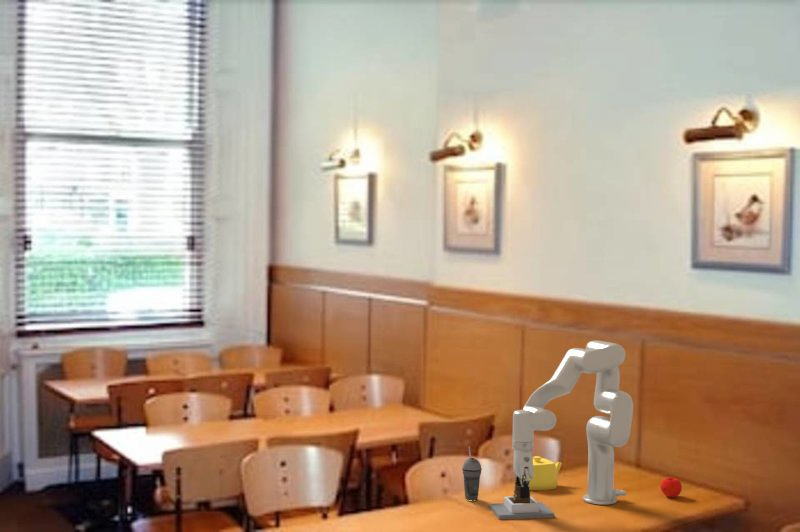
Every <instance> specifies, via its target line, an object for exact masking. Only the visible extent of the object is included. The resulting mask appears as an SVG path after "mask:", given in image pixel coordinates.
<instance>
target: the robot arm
mask: <svg viewBox="0 0 800 532" xmlns="http://www.w3.org/2000/svg"><path fill="white" fill-rule="evenodd" d="M625 350H626V349H624V347H623V346H622V345H621V344H618V343H614V342H610V341H605V340H604V341H603V340H597V339H596V340H591V341H588V343H587V344H586V346H585V348H581V347H573V348H570V349H569V350H567V352H566V353H565V355H564V356H563V358H562V360H561V361H560V363H559V365H558V366H557V367H556V369H555V371H554V373H553V374H552V376H551V378H550V379H549V380H548V381H547V382H545V383H544V384H542V385H541V386H540V387H538V388H537V389H535V391H533V393H531V395H530V396H529V398H528V400H526V402H525V404H524V406H523V408H522V409H518V410H514V411H513V413H512V436H511V437H512V439H511V442H512V443H511V445H512V446H511V448H512V450H513V461H512V462H513V463H512V464H513V466H512V467H513V469H512V470H513V473H514V475H515V478H514V485H515V484H518V483H520V481H519V478H520V479H521V487H520V498H529V483H530V478H531V479H532V478H533V459H534V458H533V457H534V456H533V451H534V441H535V440H534V439H535V438H534V437H535V433H534V432H535V431H542V432H547V431H550V430H552V429H554V428H555V426H556V425H557V416H556V415H555V413H554V412H552V410H549V409H547V408H544V407H545V406H546V405H547V404H548V403H549V402H551V401H552V400H555V399H556V398H559V397H563V396H566V395H568V394H570V393H571V392H572V390H573V389H574V387H575V385H576V383H577V382H578V380H579V379H580V377H581V376H582V374H583V373H585V374H589V375H591V374H592V375H593V374H596V382H595V389H594V397H593V406H594V408H595V410H596V411H598V412H600V413H603V414H606V415H610V417H608V416H604V415H595V416H593V417H591V418H590V419H589V420H588V421H587V423H586V428H585V430H586V431H585V432H586V433H585V434H586V438H587V440H586V441H587V449H588V450H587V452H588V453H587V455H588V456H587V489H586V490H587V491H586V494H584V495H582V500H583V501H584V502H586V503H590V504H592V505H593V504H594V505H599V506H600V505H602V506H603V505H604V506H605V505H606V506H607V505H608V506H609V505H614V504H616V503H618V497H619V496H621V497H625V496H626V495H627V492H626V490H620V489H615V488H614V479H615V478H614V475H615V473H614V472H615V471H614V470H615V469H614V468H615V452H614V451H615V450H614V447H615V448H616V447H617V448H621V447H623V446H625V445H626V444H627V443H628V441H629V438H630V436H631V428H632V422H633V416H634V415H633V414H634V401H633V398H632V396H631V395H630V394H629V393H628V392H626V391H622V390H620V380H621V379H620V378H621V375H620V369H619V367H620V366H621V365H622V364H623V363H624V362H625V359H626V351H625ZM523 476H525V478H523ZM523 480H525V481H524V482H523Z"/></svg>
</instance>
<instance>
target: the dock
mask: <svg viewBox="0 0 800 532" xmlns="http://www.w3.org/2000/svg"><path fill="white" fill-rule="evenodd" d="M488 509H489V510H490V511H491V510H492V511H493V512H492V513H493V514H494V516H495V517H496V518H497V517H498V518H497V519H498V520H521V519H523V520H525V519H549V518H551V519H553V518H555V512H553V510H552V509H550V508H549V507H548V506H547V505H546V504H545V503H544V502H543V501H540V502H539V501H537V500H536V498H534V497H533V496H531V495H530V503H520V504H514V495H513V496H503V502H502V503H501V502H500V503H499V502H498V503H488Z"/></svg>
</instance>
